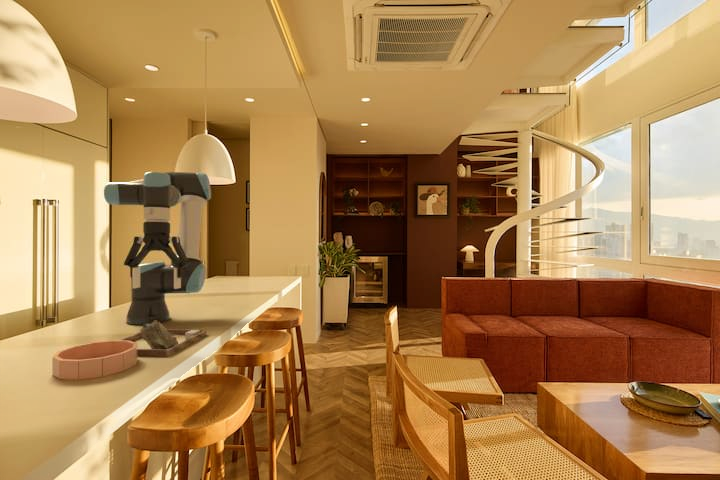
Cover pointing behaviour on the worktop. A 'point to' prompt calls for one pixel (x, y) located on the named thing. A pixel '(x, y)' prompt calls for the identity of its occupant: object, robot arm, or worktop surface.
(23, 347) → the worktop surface
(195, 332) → the beige rectangular block
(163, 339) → the rock
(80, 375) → the bowl
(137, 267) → the robot arm
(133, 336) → the tray
